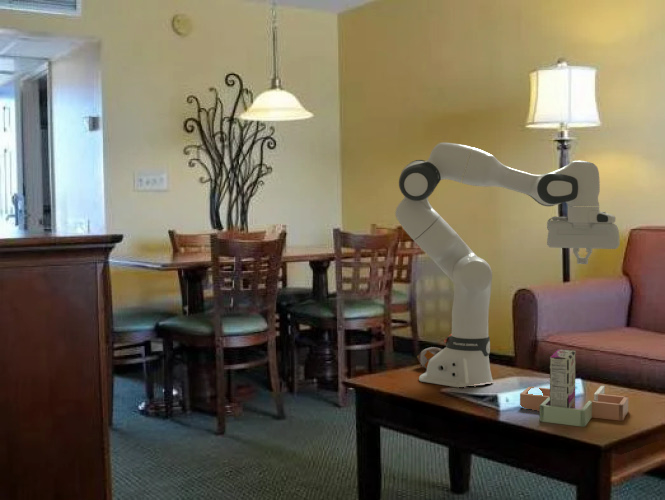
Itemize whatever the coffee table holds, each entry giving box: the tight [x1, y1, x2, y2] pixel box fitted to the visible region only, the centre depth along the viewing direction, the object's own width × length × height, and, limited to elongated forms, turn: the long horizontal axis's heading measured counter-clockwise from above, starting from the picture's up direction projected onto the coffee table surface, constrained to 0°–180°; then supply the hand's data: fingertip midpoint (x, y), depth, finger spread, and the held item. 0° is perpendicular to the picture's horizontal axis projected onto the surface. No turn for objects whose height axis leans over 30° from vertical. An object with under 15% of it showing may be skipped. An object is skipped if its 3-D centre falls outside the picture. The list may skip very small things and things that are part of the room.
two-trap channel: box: [519, 385, 629, 428], centre depth 210 cm, size 26×30×4 cm
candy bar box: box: [549, 349, 576, 409], centre depth 203 cm, size 11×5×16 cm, turn 154°
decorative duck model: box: [416, 346, 444, 370], centre depth 264 cm, size 15×8×15 cm
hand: (582, 263), depth 232 cm, fingers closed
